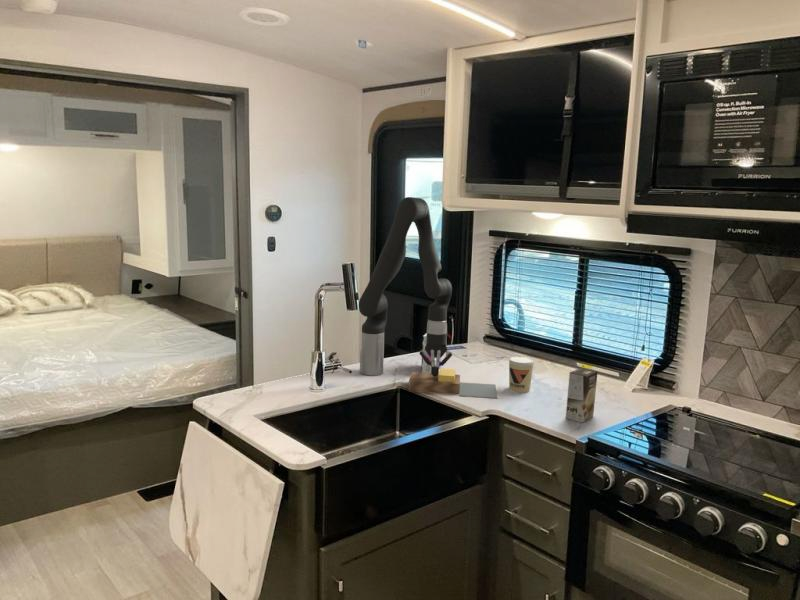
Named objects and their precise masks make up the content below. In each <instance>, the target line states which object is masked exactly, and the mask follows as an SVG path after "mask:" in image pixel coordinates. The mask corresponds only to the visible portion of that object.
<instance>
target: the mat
mask: <svg viewBox="0 0 800 600" xmlns="http://www.w3.org/2000/svg"><path fill="white" fill-rule="evenodd" d="M458 395H459V397H464V398H466V397H467V398H481V399H482V398H484V399H496V400H497V399H499V397H498V392H497V385H496V384H493V383H475V382H463V381H462V382H461V381H460V392H459V394H458Z"/></svg>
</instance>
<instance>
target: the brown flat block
mask: <svg viewBox="0 0 800 600" xmlns="http://www.w3.org/2000/svg"><path fill="white" fill-rule="evenodd" d="M438 375H439V374H438ZM438 375H437V376H433V375H432V374H431V373H421V372H419V371H418V372H417V371H411V373H410V376H409V380H408V392H411V393H412V392H413V393H415V392H416V393H428V394H429V393H430V394H445V395H446V394H448V395H449V394H450V395H459V392H460V382H461V374H455V381H454V383H452V382H438Z"/></svg>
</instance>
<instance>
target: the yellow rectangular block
mask: <svg viewBox="0 0 800 600" xmlns="http://www.w3.org/2000/svg"><path fill="white" fill-rule="evenodd" d="M455 375H456V369H453V368H440V369H439V375H438V382H452V383H454V381H455Z"/></svg>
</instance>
